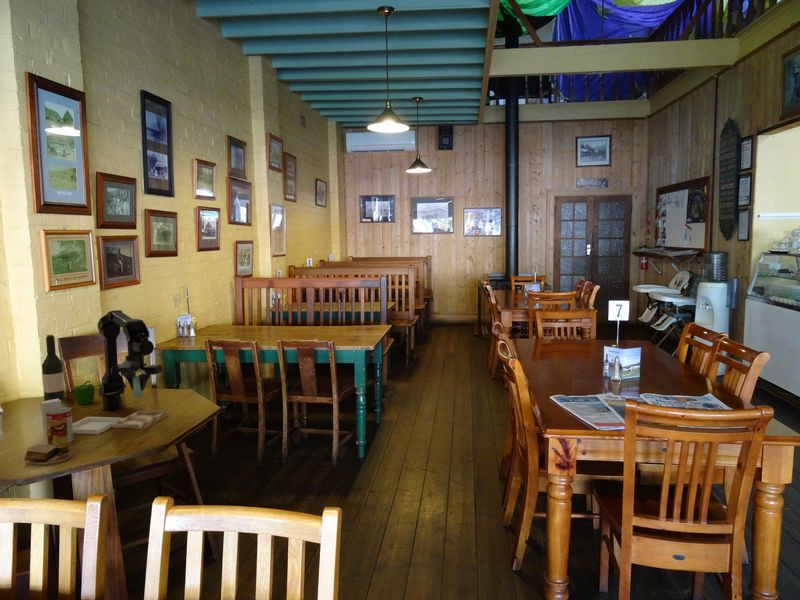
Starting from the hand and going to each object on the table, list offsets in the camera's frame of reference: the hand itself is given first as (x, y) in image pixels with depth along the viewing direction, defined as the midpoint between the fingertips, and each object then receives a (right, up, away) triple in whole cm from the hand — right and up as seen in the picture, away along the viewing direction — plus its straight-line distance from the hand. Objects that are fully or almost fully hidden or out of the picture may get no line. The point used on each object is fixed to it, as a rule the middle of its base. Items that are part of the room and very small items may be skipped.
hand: (138, 390), depth 226 cm
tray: (0, -13, +1) cm, 13 cm away
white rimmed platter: (-15, -14, -6) cm, 21 cm away
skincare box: (-28, -14, -9) cm, 33 cm away
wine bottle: (-56, -10, +37) cm, 67 cm away
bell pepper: (-37, -11, +29) cm, 49 cm away
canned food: (-18, -16, -21) cm, 32 cm away
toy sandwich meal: (-12, -18, -37) cm, 43 cm away
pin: (0, -3, 0) cm, 3 cm away
